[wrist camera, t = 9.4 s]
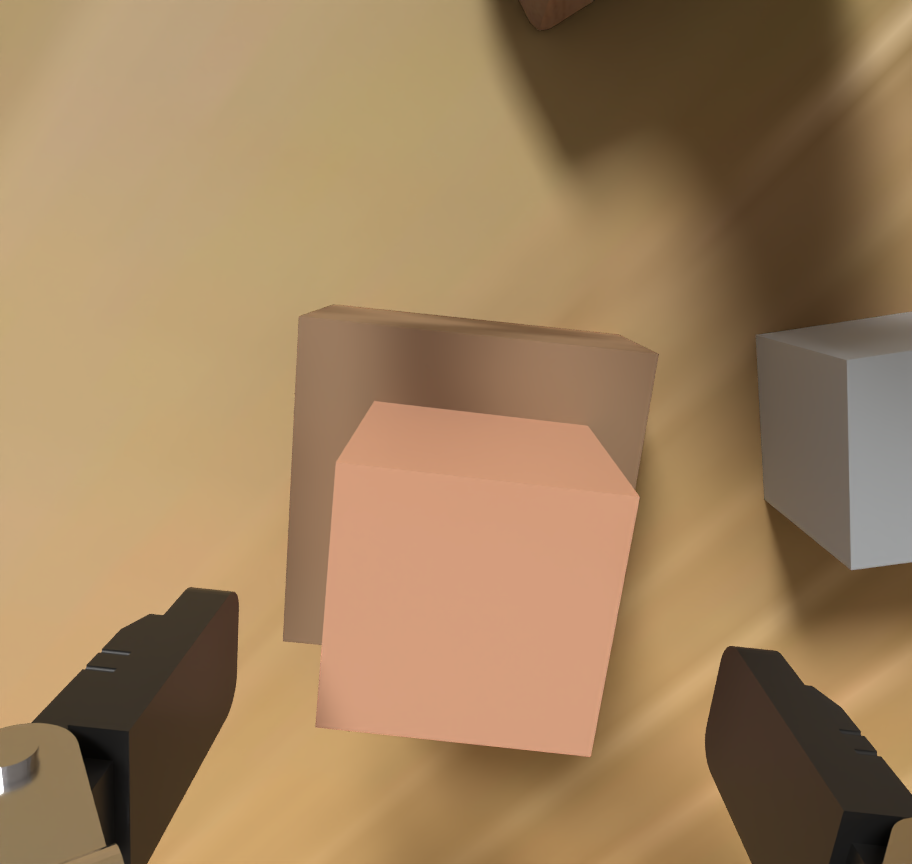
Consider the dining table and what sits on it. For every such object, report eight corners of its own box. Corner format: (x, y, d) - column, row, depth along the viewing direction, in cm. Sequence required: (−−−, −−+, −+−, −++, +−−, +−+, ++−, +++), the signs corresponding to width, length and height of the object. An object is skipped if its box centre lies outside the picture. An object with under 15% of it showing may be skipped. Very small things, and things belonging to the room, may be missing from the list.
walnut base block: (616, 333, 22) (658, 353, 18) (576, 590, 25) (603, 673, 20) (334, 303, 22) (299, 316, 17) (319, 565, 24) (282, 641, 20)
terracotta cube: (587, 425, 18) (639, 496, 13) (555, 618, 19) (590, 756, 14) (374, 401, 18) (335, 462, 13) (356, 596, 19) (315, 727, 14)
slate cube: (933, 307, 22) (1084, 325, 17) (932, 475, 23) (1071, 540, 18) (754, 334, 22) (846, 359, 17) (763, 498, 23) (851, 570, 18)
